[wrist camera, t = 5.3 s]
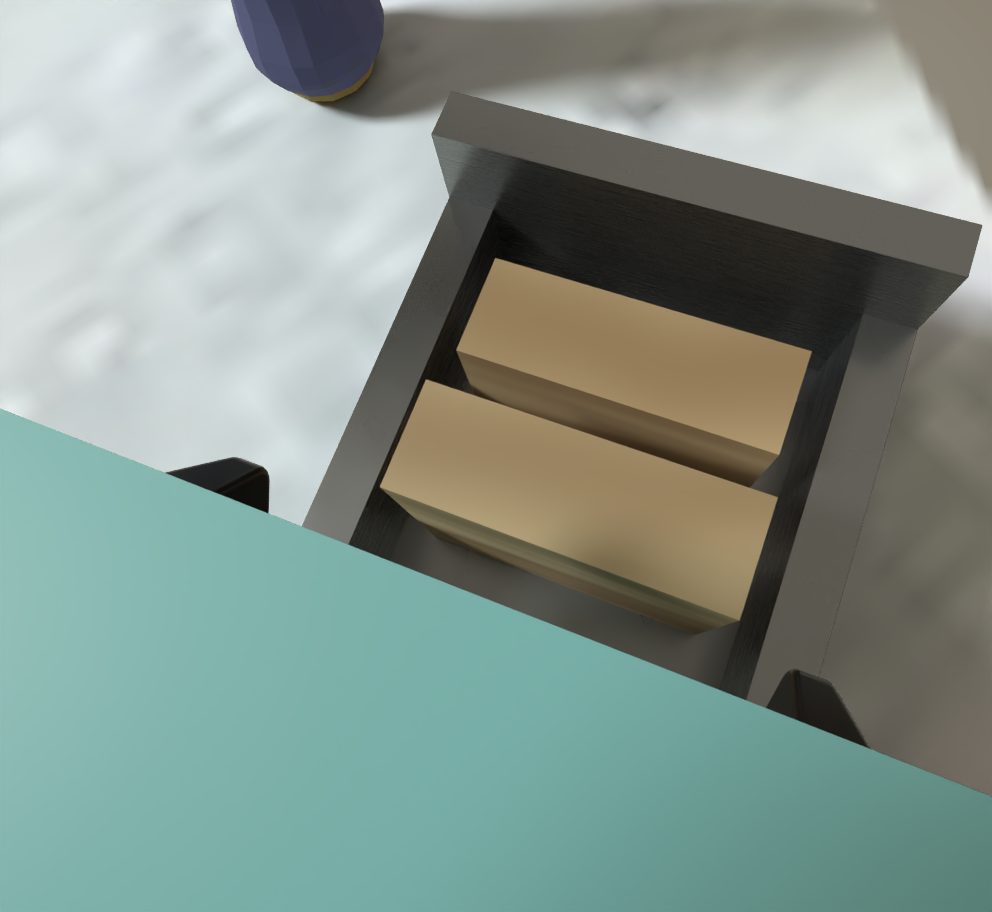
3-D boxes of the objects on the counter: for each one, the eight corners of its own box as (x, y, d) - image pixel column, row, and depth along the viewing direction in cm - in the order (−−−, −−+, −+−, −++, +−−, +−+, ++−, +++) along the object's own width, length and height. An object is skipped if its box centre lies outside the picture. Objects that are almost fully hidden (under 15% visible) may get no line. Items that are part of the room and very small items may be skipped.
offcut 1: (735, 503, 17) (779, 454, 13) (483, 417, 18) (456, 349, 14) (762, 421, 17) (811, 351, 14) (514, 342, 19) (495, 257, 15)
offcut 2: (694, 635, 16) (740, 620, 12) (436, 537, 17) (380, 487, 13) (723, 546, 17) (777, 497, 12) (468, 456, 18) (426, 379, 13)
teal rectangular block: (653, 825, 13) (973, 1533, 2) (333, 687, 14) (-429, 727, 3) (690, 708, 13) (1104, 838, 3) (377, 583, 14) (-184, 337, 4)
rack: (682, 972, 16) (743, 1164, 10) (264, 775, 18) (94, 831, 12) (860, 373, 19) (994, 228, 13) (484, 261, 21) (441, 88, 15)
